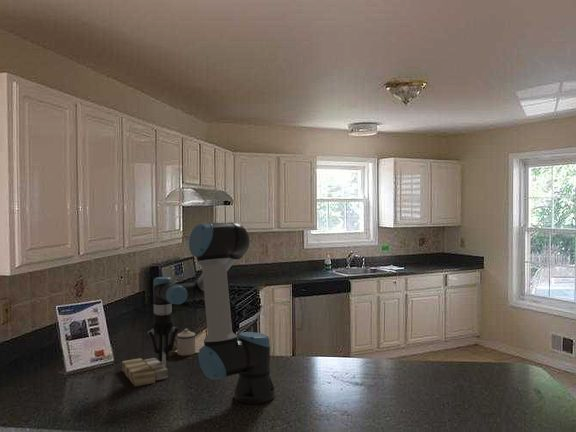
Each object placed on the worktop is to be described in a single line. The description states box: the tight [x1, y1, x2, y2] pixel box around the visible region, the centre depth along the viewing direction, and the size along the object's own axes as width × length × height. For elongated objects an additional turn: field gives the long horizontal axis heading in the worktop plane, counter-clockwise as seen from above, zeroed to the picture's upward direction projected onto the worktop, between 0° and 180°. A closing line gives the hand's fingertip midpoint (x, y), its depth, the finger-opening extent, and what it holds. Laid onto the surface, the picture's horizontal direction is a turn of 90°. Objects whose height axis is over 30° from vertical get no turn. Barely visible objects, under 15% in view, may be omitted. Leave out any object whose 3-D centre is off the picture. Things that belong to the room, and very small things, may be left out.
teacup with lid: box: [173, 328, 197, 356], centre depth 225 cm, size 12×9×12 cm
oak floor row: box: [121, 357, 157, 387], centre depth 193 cm, size 22×9×4 cm, turn 32°
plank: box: [143, 357, 169, 381], centre depth 197 cm, size 18×5×4 cm, turn 32°
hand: (163, 368), depth 198 cm, fingers closed
